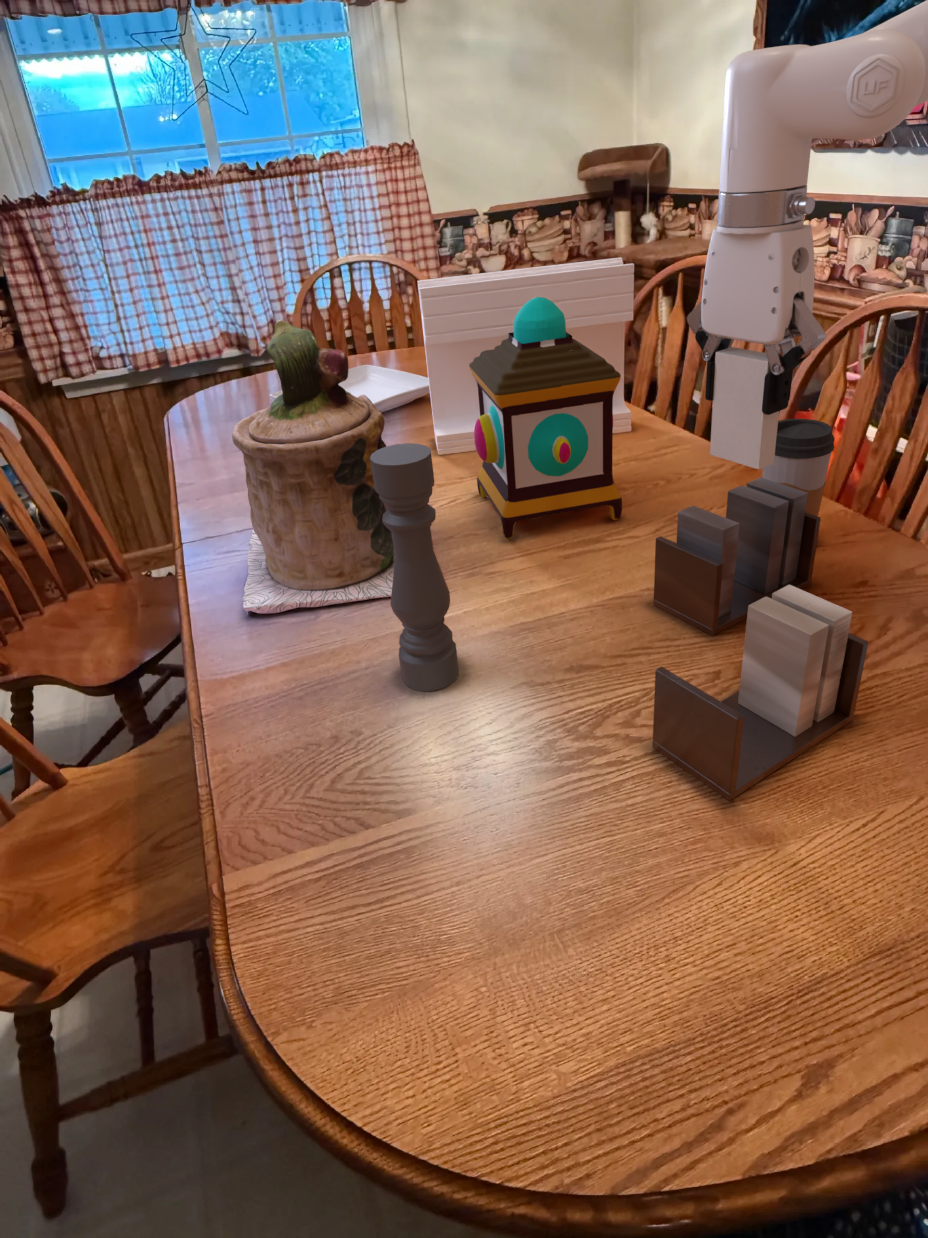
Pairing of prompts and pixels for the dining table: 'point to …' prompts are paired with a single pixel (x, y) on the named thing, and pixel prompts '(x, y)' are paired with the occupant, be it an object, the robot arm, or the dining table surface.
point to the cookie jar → (313, 485)
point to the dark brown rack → (765, 695)
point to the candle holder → (415, 566)
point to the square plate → (382, 386)
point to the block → (484, 315)
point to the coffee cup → (802, 458)
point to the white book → (742, 409)
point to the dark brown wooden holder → (735, 555)
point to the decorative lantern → (544, 421)
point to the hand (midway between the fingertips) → (745, 402)
